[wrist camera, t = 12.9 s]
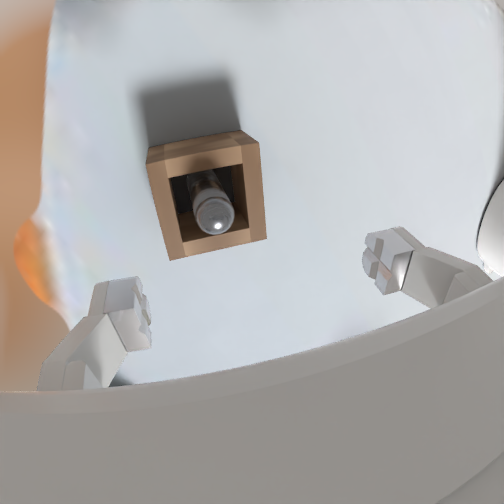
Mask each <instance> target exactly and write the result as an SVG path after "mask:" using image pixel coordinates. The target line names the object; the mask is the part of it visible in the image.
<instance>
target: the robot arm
mask: <svg viewBox="0 0 504 504" xmlns="http://www.w3.org/2000/svg"><path fill="white" fill-rule="evenodd" d="M365 244H366V246H367V249H366V250H365V251H364V253H363V257H362V263H363V268H364V270H365V273H366V274H367V275H368V276H369V277H371V278H373V279H375V285H376V286H377V288H378V289H379V290H380V291H381V293H382V294H383V295H386V294H390V293H394V292H397V291H401V290H402V292H403V293H405V294H407V295H409V296H410V297H412V298H414V299H415V300H417V301H419V302H420V303H422V304H424V305H426V306H427V307H429V308H431V309H430V310H427V311H425V312H422V313H419V314H417V315H414V316H412V317H409V318H406V319H404V320H401V321H398V322H395V323H393V324H390V325H387V326H384V327H381V328H378V329H375V330H372V331H369V332H366V333H363V334H360V335H357V336H354V337H351V338H348V339H344V340H341V341H338V342H335V343H331V344H328V345H324V346H321V347H318V348H314V349H310V350H307V351H303V352H299V353H296V354H292V355H288V356H284V357H280V358H276V359H272V360H268V361H264V362H260V363H255V364H251V365H246V366H242V367H237V368H232V369H227V370H222V371H217V372H212V373H207V374H201V375H196V376H190V377H184V378H178V379H171V380H165V381H158V382H151V383H143V384H135V385H126V386H117V387H109V385H110V383H111V381H112V380H113V378H114V376H115V375H116V373H117V371H118V369H119V368H120V366H121V364H122V363H123V361H124V359H125V357H126V356H127V354H128V353H127V352H132V351H138V350H143V349H149V348H151V331H150V329H149V325H150V324H151V313H150V307H149V303H148V300H147V297H146V296H145V295H144V294H142V287H143V286H142V283H141V280H140V278H139V277H138V276H135V277H129V278H123V279H117V280H111V281H105V282H99V283H97V284H95V286H94V291H93V295H92V299H91V304H90V308H89V313H88V316H87V317H83V319H82V320H81V321H80V322H79V323H78V324H77V325H76V326H75V327H74V328H73V329H72V330H71V331H70V333H69V334H68V335H67V336H66V337H65V338H64V339H63V340H62V341H61V343H60V344H59V345H58V346H57V347H56V348H55V349H54V350H53V351H52V353H51V354H50V355H49V356H48V357H47V358H46V360H45V361H44V362H43V363H42V368H41V372H40V376H39V381H38V386H37V391H36V392H34V391H33V392H12V391H7V392H6V391H0V504H504V180H503V181H502V182H501V184H500V185H499V187H498V188H497V190H496V191H495V193H494V195H493V197H492V199H491V201H490V203H489V205H488V207H487V210H486V212H485V215H484V218H483V221H482V224H481V227H480V231H479V236H478V243H477V250H478V255H479V257H480V259H482V260H483V262H484V270H485V271H486V272H487V273H489V274H490V273H492V272H493V271H495V272H496V273H498V274H499V275H500V276H502V277H501V278H499V279H497V280H495V281H493V280H492V279H491V278H490V277H489V276H488V275H487V274H486V273H484V272H483V271H482V270H481V269H480V268H479V267H478V266H477V265H474V264H472V263H469V262H467V261H464V260H462V259H459V258H457V257H454V256H452V255H449V254H446V253H444V252H441V251H438V250H436V249H433V248H430V247H425V246H424V245H423V244H421V243H420V242H419V241H418V240H417V239H416V238H415V237H414V236H412V235H411V234H410V233H409V232H408V231H407V230H406V229H404V228H403V227H400V226H399V227H395V228H391V229H388V230H383V231H378V232H373V233H368V234H367V236H366V239H365Z"/></svg>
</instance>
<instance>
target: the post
mask: <svg viewBox="0 0 504 504" xmlns="http://www.w3.org/2000/svg"><path fill="white" fill-rule="evenodd" d="M187 186H188V191H189V195H190V199H191V203H192V207H193V211H194V215H195V219H196V222H197V225H198V226H199V227H200V229H201V230H203V231H204V232H206V233H208V234H213V235H217V234H221V233H224V232H225V231H227V230H228V229H229V228H230V227H231V225H232V223H233V221H234V216H235V215H234V209H233V206H232V204H231V202H230V200H229V199H228V197H227V195H226V193H225V191H224V189H223V187H222V186H221V184H220V182H219V180H218V178H217V176H216V174H215V172H214V171H213V170H212V169H209V170H204V171H199V172H194V173H189V174H188V176H187Z"/></svg>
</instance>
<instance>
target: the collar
mask: <svg viewBox="0 0 504 504" xmlns="http://www.w3.org/2000/svg"><path fill="white" fill-rule="evenodd" d="M225 166H230V169H231V177H232V185H233V193H234V201H235V202H232V203H231V204H232V206H233V209H234V215H235V216H234V221H233V223H232V225H231V227H230V228H229V229H228V230H227V231H225V232H224V233H221V234H217V235H213V234H208V233H206V232H204V231H203V230H201V229H200V227H199V226H198V225H197V222H196V219H195V215H194V211H189V212H185V213H180V214H178V210H177V206H176V201H175V196H174V191H173V187H172V182H171V177H175V176H180V175H184V174H189V173H194V172H199V171H204V170H209V169H214V168H220V167H225ZM146 169H147V173H148V178H149V182H150V186H151V190H152V195H153V199H154V203H155V207H156V211H157V215H158V219H159V223H160V227H161V230H162V234H163V238H164V242H165V245H166V249H167V253H168V256H169V260H170V261H171V260H175V259H180V258H184V257H188V256H193V255H197V254H202V253H206V252H210V251H215V250H219V249H224V248H228V247H233V246H237V245H242V244H246V243H250V242H255V241H259V240H264V239H267V236H266V223H265V210H264V197H263V184H262V172H261V160H260V148H259V142H257V141H256V140H254V139H253V138H252V137H250V136H249V135H247V134H246V133H245V132H243V131H242V130H239V131H233V132H226V133H220V134H214V135H209V136H203V137H198V138H192V139H187V140H182V141H177V142H172V143H168V144H163V145H159V146H154V147H150V148H149V150H148V155H147V160H146Z"/></svg>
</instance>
